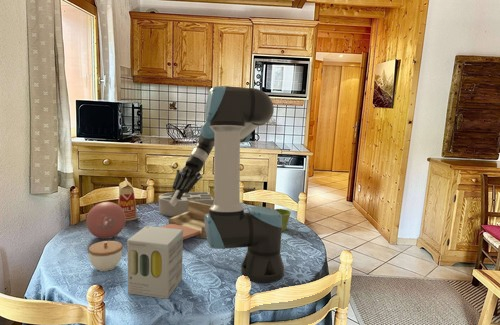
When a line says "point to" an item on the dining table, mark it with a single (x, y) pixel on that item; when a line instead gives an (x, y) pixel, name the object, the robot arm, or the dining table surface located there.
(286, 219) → the plant pot
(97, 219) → the balloon
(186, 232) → the panel
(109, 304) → the dining table surface
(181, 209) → the grey compartment organizer
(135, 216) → the milk carton
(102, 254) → the lidded jar
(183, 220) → the tray
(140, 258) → the supplement box
